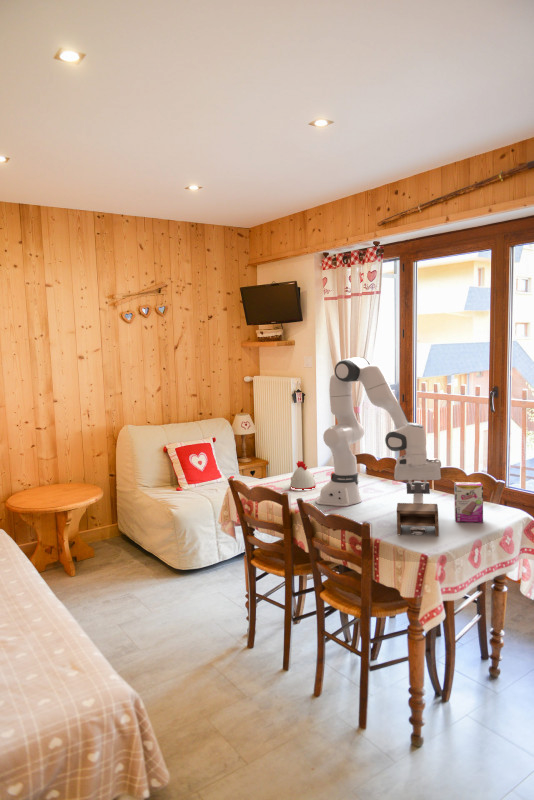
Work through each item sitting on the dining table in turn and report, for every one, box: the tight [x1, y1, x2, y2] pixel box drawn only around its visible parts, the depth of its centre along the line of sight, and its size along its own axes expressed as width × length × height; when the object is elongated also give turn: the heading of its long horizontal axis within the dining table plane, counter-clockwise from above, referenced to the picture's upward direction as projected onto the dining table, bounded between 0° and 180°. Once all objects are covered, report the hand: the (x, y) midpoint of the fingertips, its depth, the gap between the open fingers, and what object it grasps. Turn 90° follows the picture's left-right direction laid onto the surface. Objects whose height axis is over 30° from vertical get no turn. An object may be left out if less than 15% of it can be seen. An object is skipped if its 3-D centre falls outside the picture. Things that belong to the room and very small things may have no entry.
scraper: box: [405, 480, 431, 504], centre depth 237 cm, size 10×20×6 cm, turn 165°
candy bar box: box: [453, 481, 484, 524], centre depth 231 cm, size 11×5×16 cm, turn 77°
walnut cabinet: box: [396, 502, 440, 537], centre depth 222 cm, size 16×10×10 cm, turn 75°
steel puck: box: [409, 526, 427, 535], centre depth 222 cm, size 6×6×2 cm
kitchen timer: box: [289, 460, 317, 490], centre depth 299 cm, size 14×14×15 cm
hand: (418, 489), depth 244 cm, fingers closed on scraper, 3 cm apart
